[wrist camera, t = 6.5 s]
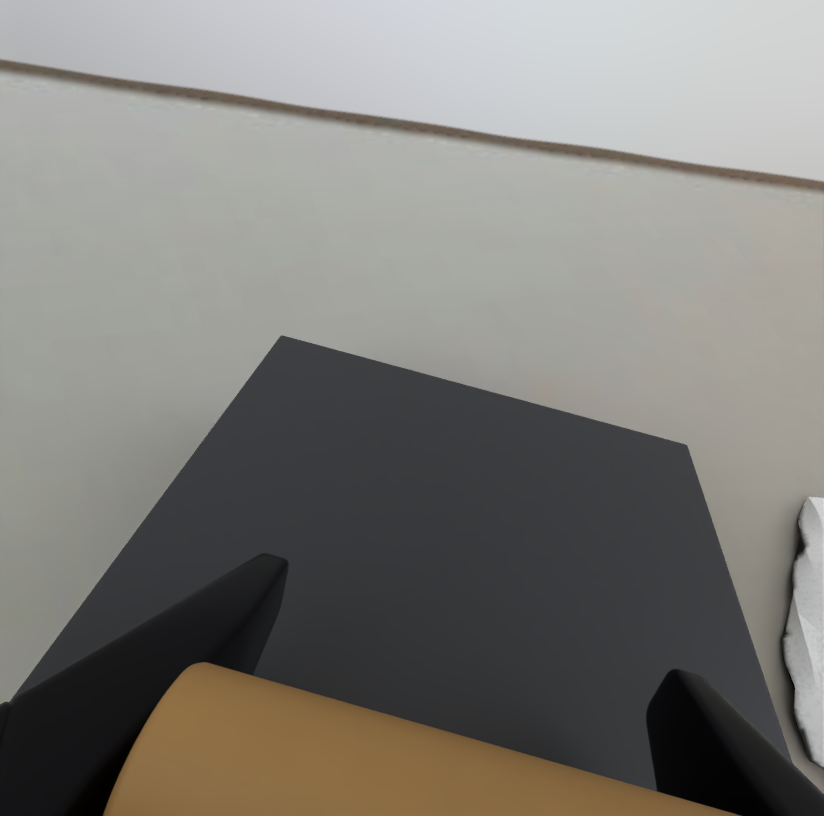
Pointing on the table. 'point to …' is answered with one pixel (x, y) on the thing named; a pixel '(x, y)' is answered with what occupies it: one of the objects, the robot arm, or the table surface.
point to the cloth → (808, 629)
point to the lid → (425, 605)
